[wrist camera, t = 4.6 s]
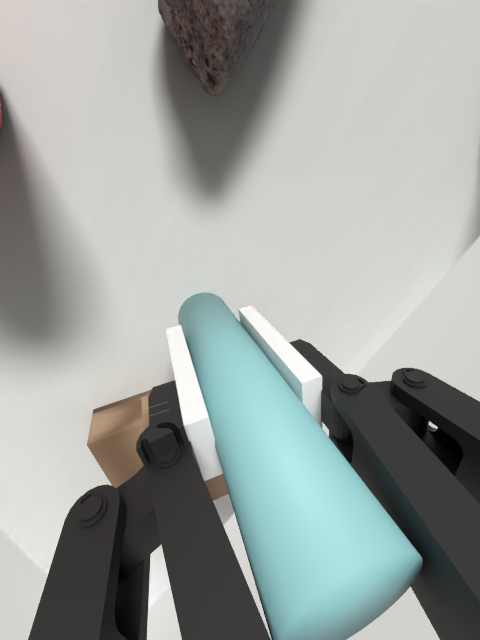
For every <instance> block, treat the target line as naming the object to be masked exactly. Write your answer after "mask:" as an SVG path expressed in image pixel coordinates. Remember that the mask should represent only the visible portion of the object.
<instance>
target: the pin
mask: <svg viewBox="0 0 480 640" xmlns="http://www.w3.org/2000/svg"><path fill="white" fill-rule="evenodd" d="M178 321H179V325H181V327H182V331H183V334H184V337H185V341H186V344H187V347H188V350H189V354H190V357H191V360H192V363H193V367H194V370H195V373H196V377H197V380H198V383H199V386H200V390H201V393H202V396H203V400H204V403H205V406H206V409H207V413H208V416H209V419H210V423H211V427H212V430H213V434H214V437H215V447H216V451H217V454H218V458H219V461H220V465H221V468H222V471H223V475H224V478H225V482H226V485H227V488H228V492H229V495H230V499H231V502H232V505H233V509H234V512H235V516H236V519H237V522H238V526H239V529H240V533H241V536H242V539H243V543H244V546H245V550H246V553H247V556H248V560H249V563H250V567H251V570H252V573H253V576H254V580H255V583H256V587H257V590H258V593H259V597H260V601H261V604H262V607H263V611H264V614H265V617H266V621H267V624H268V628H269V631H270V634H271V638H272V640H346V639H348V638H349V637H351V636H352V635H354V634H356V633H357V632H359V631H360V630H361V629H363V628H364V627H366V626H367V625H368V624H370V623H371V622H372V621H374V620H375V619H376V618H378V617H379V616H380V615H381V614H382V613H384V612H385V611H386V610H387V609H388V608H390V607H391V606H392V605H393V604H394V603H395V602H396V601H397V600H398V599H399V598H400V597H401V596H402V595H403V594H404V593H405V592H406V591H407V590H408V588H409V587H410V586H411V585H412V584H413V582H414V581H415V579H416V578H417V576H418V575H419V573H420V571H421V569H422V565H423V559H422V557H421V556H420V554H419V553H418V552H417V551H416V549H415V548H414V547H413V545H412V544H411V543H410V541H409V540H408V539H407V538H406V536H405V535H404V534H403V532H402V531H401V530H400V529H399V527H398V526H397V525H396V523H395V522H394V521H393V520H392V518H391V517H390V516H389V514H388V513H387V512H386V510H385V509H384V508H383V507H382V505H381V504H380V503H379V501H378V500H377V499H376V498H375V496H374V495H373V494H372V492H371V491H370V490H369V489H368V487H367V486H366V485H365V483H364V482H363V481H362V479H361V478H360V477H359V476H358V474H357V473H356V472H355V470H354V469H353V468H352V467H351V465H350V464H349V463H348V461H347V460H346V459H345V458H344V456H343V455H342V454H341V452H340V451H339V450H338V449H337V447H336V446H335V445H334V443H333V442H332V441H331V439H330V438H329V437H328V436H327V434H326V433H325V432H324V430H323V429H322V428H321V427H320V425H319V424H318V423H317V421H316V420H315V419H314V418H313V416H312V415H311V414H310V412H309V411H308V410H307V408H306V407H305V406H304V405H303V403H302V402H301V401H300V399H299V398H298V397H297V396H296V394H295V393H294V392H293V390H292V389H291V388H290V387H289V385H288V384H287V383H286V381H285V380H284V379H283V377H282V376H281V375H280V374H279V372H278V371H277V370H276V368H275V367H274V366H273V365H272V363H271V362H270V361H269V359H268V358H267V357H266V356H265V354H264V353H263V352H262V350H261V349H260V348H259V346H258V345H257V344H256V343H255V341H254V340H253V339H252V337H251V336H250V335H249V334H248V332H247V331H246V330H245V328H244V327H243V326H242V325H241V323H240V322H239V321H238V319H237V318H236V317H235V315H234V314H233V313H232V312H231V310H230V309H229V308H228V306H227V305H226V304H225V303H224V301H223V300H222V299H221V298H220V297H218V296H216V295H214V294H211V293H199V294H196V295H193V296H191V297H190V298H188V299H187V300H186V301H185V302H184V303H183V305H182V306H181V308H180V311H179V315H178Z"/></svg>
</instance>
